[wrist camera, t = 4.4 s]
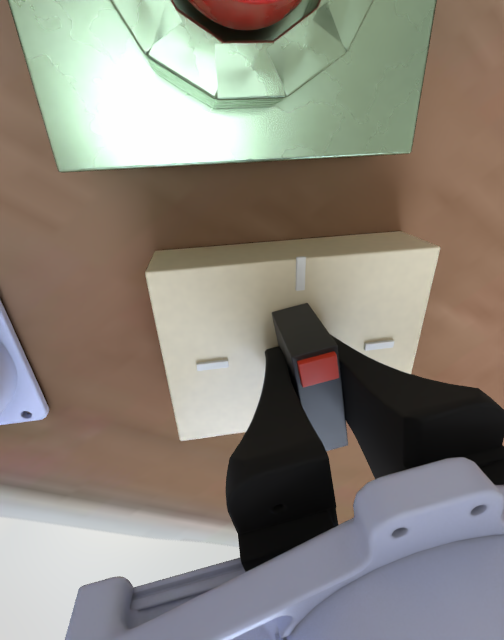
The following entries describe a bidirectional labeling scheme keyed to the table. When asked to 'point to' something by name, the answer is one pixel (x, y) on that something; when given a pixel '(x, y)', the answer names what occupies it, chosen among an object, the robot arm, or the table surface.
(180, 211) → the table surface
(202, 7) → the button
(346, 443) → the block
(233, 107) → the push button base
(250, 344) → the dial panel
